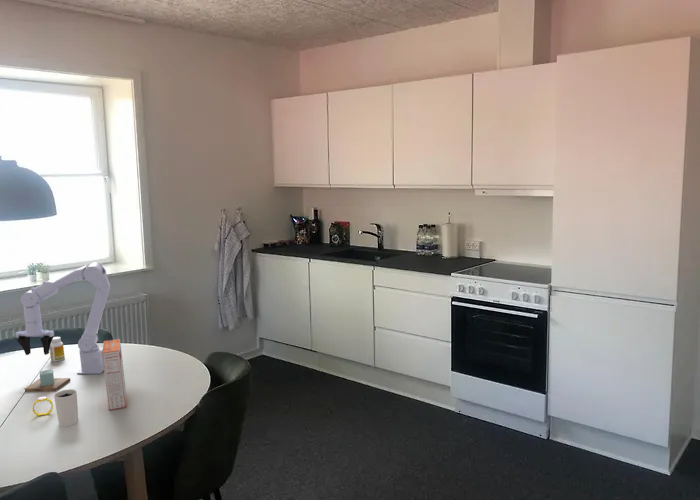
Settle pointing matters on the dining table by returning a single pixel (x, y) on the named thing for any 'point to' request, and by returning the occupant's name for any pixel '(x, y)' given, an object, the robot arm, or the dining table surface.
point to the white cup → (66, 407)
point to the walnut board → (53, 387)
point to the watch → (42, 400)
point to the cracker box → (114, 374)
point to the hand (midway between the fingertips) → (37, 354)
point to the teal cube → (46, 377)
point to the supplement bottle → (56, 349)
